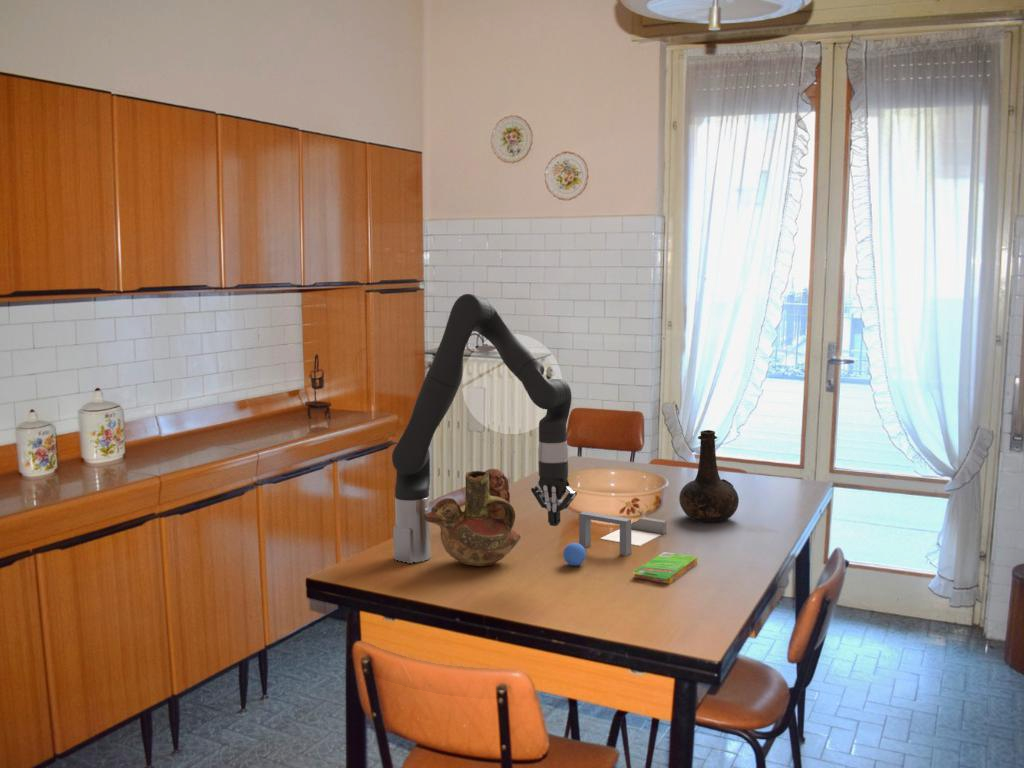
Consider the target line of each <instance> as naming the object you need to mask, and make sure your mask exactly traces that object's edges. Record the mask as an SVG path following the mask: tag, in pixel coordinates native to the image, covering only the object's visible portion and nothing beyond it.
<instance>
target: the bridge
mask: <svg viewBox="0 0 1024 768" xmlns="http://www.w3.org/2000/svg"><path fill="white" fill-rule="evenodd" d="M592 521H597V522H602V523H609V524H613V525H618V526H619V529H620V542H619V556H624V557H627V556H628V555H631V554H632V545H631V530H632V529H631V519H629V518H624V517H622V516H616V515H609V514H604V513H598V512H591V511H585V510H584V511H582V512H580V513H578V525H579V526H578V536H579V537H578V544H580V545H582V546H583V547H584V549H587V548H589V547H590V546H592V544H591V543H592V539H591V538H592V530H591V529H592V528H591V527H592V524H591V522H592Z"/></svg>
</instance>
